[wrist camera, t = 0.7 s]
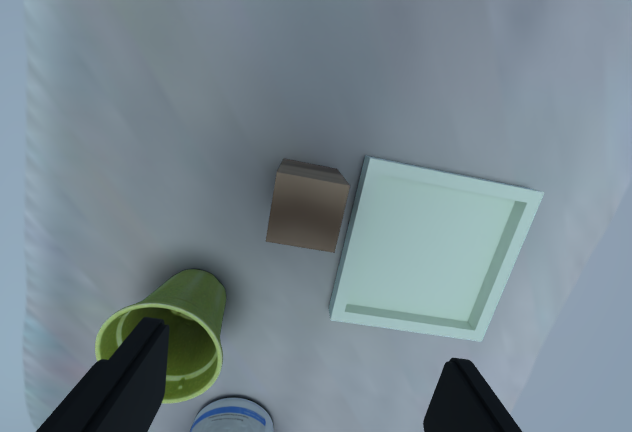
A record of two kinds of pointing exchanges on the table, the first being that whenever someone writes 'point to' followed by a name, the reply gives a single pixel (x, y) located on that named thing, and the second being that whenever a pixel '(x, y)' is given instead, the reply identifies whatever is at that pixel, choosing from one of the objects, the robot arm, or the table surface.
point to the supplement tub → (232, 417)
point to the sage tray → (429, 249)
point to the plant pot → (177, 331)
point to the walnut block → (307, 206)
